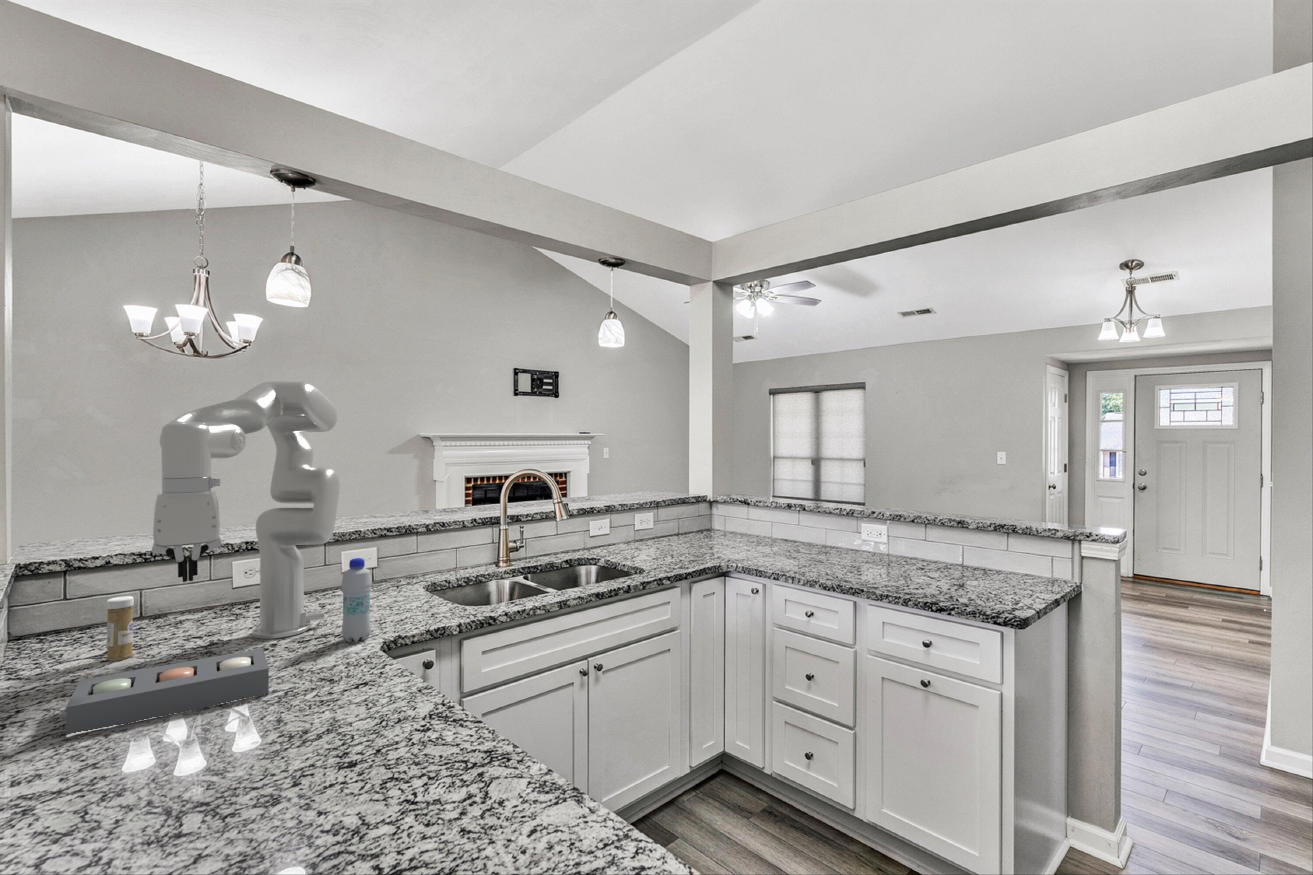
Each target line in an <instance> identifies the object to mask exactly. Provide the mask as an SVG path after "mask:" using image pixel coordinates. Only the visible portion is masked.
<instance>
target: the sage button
mask: <svg viewBox="0 0 1313 875" xmlns="http://www.w3.org/2000/svg"><path fill="white" fill-rule="evenodd" d="M126 688H131V679H127V678H122V679H114V680H109V681H105V682H102V683H99V684H97V685H95V686H94V687H93V695H94V694H99V693H104V692H110V691H115V690H120V689H126Z"/></svg>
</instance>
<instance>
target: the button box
mask: <svg viewBox="0 0 1313 875" xmlns="http://www.w3.org/2000/svg"><path fill="white" fill-rule="evenodd" d="M238 657H249V658H251V665H249V666H244V667H238V668H233V669H228V670H222V671H220V663H221V662H223V661H225V660H228V659H232V658H238ZM267 661H268V660H267V658H266V654H265V651H264V648H257V649H251V650H250V649H249V650H246V651H245V650H244V651H239V652H235V653H234V652H233V653H228V654H223V655H217V656H211V657H205V658H198V659H194V660H192V659H191V660H188V661H182V662H176V663H170V664H165V665H164V664H163V665H160V666H159V665H158V666H154V667H153V666H152V667H148V668H141V669H136V670H135V669H134V670H129V671H124V672H119V673H114V674H113V673H112V674H108V675H102V676H101V675H100V676H97V677H91V678H85V679H84V678H83V679H80V680H79V681H78V683H77V686H76V688H75V690H74V691H73V694H72V695H71V697H70V699H69V701H68V703H67V704H66V706H65V735H66V734H71V733H76V732H81V731H88V730H93V729H98V728H102V727H109V726H113V725H121V724H128V723H131V722H136V721H139V720H144V719H149V718H152V717H159V716H165V715H169V714H174V713H179V714H182V713H181V712H184V713H187V712H186V711H188V712H190V711H189V710H193V711H196V709H198V710H201V709H200V708H202V709H205V708H204V707H207V708H209V707H208V706H212V707H214V706H213V705H216V706H218V705H217V704H221V703H226V702H230V703H232V702H231V701H234V700H239V699H244V698H249V697H253V696H258V697H261V696H260V695H263V696H265V695H264V694H268V695H269V689H270V688H269V685H270V684H269V683H270V682H269V680H270V679H269V677H270V676H269V674H270V673H269V672H270V670H269V664H268V662H267ZM182 667H191V668H193V669H194V676H190V677H185V678H179V679H174V680H169V681H163V682H160V674H161V673H163V672H165V671H168V670H171V669H176V668H182ZM122 678H127V679H131V688H126V689H120V690H115V691H110V692H104V693H99V694H94V695H93V687H94V686H95V685H97V684H99V683H102V682H105V681H109V680H114V679H122ZM249 699H250V698H249ZM244 700H245V699H244ZM226 704H227V703H226ZM221 705H222V704H221ZM174 715H175V714H174ZM165 717H166V716H165ZM128 725H129V724H128Z"/></svg>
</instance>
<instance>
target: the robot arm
mask: <svg viewBox="0 0 1313 875" xmlns="http://www.w3.org/2000/svg"><path fill="white" fill-rule="evenodd" d="M337 420H338V413H337V410H336V407H335V405H334V403H333V402H332V401H331V400H330V399H329V398H328V397H327V396H325V394H323V393H322V391H320V390H319V389H318V388H317V387H316V386H313V384H310V383H307V382H304V381H279V380H278V381H275V380H274V381H271V380H270V381H266V382H265V381H264V382H261V383H259V384H257V385H256V386H253V387H252V388H250V389H248V390H247V391H245V392H243V394H240V395H239V396H237V397H236V398H234V399H230V400H226V401H222V402H219V403H216V404H212V405H208V406H204V407H200V408H196V409H192V410H191V411H187V412H184V413H183V414H181V415H180V416H178V417H176V418H174V419H173V420H171V421H170V422H168V423H167V424H165V425H163V427H162V428H161V432H160V436H159V445H160V448H161V493H159V494H157V495H156V498H155V503H154V512H153V513H154V514H153V527H152V530H153V532H152V533H153V534H152V536H153V545H152V549H151V552H152V553H153V554H161V555H168V556H169V557H170V558H172V559H174V560H175V561H176V562H177V578H182V582H183V583H186V582H193V581H194V577H195V576H196V577H197V576H198V560H199V559H200V558H201V557H202V556H203V555H204V554H205V553H206V552H207V551H209V550H210V551H211V550H214V549H216V548H220V547H221V546H223V545H222V540H221V537H220V534H221V533H220V531H221V526H220V525H221V521H220V509H219V501H218V496H217V492H216V491H214V490H213V491H212V489H213V487H218V486H219V487H220V485H221V479H220V478H219V479H218V478H217V479H216V478H213V477H212V467H211V466H212V462H211V461H212V460H211V459H229V458H233V457H235V456H238V455H239V454H240V453H241V452H242V451H243V450H244V449H245V448H246V443H247V437H246V435H248V434H253V433H256V432H258V431H261V430H262V429H264V428H266V426H267V429H268V431H269V432H270V434H271V436H272V439H273V441H274V445H275V450H276V453H275V460H274V466H273V472H272V476H271V483H270V493H269V494H270V497H271V499H272V500H273V501H275V502H276V503H280V504H288V505H289V504H294V505H295V504H298V505H299V504H300V505H301V504H313V507H275V508H274V507H273V508H270V509H267V510H265V511H263V512H262V513H261V514H260V515H259V516H258V517H257V519H256V521H255V532H256V533H255V534H256V539H257V543H258V548H259V549H258V550H259V564H260V567H259V568H260V569H259V576H260V577H259V626H257V627H255V628H254V629H253V630H252V634H251V636H252V637H254V638H255V639H260V640H261V639H263V640H265V639H266V640H269V639H272V640H273V639H279V638H287V637H292V636H297V635H300V634H302V633H304V632H306V631H308V630H309V629H310V628H311V621H315V620H316V621H318V620H324V619H325V612H324V611H322V610H321V611H317V610H315V611H309V612H308V611H306V609H305V608H304V606H305V605H304V602H305V600H304V598H305V597H304V594H305V593H304V591H305V590H304V589H305V586H304V585H305V582H304V581H305V580H304V578H305V576H304V574H305V570H304V569H305V562H304V557H303V554H301V551H300V550H299V549H298V548H297V546H308V545H309V546H310V545H314V546H315V545H323V544H326V543H328V542H329V541H330V539H331V538H332V536H333V534H334V529H335V524H336V518H337V517H336V516H337V510H338V504H339V498H340V489H341V488H340V485H341V484H340V480H339V479H340V478H339V476H338V474H337V472H336V471H335V470H334V469H332V468H329V467H325V466H324V467H323V466H322V467H316V466H315V467H313V460H314V459H313V458H314V449H313V447H312V445H311V444H310V442H309V441H308V439H306V437H305V436H304V435H303V434H302V433H325V432H329V431H331V430H333V429H334V427H336V424H337ZM183 546H192V550H191V554H190V555H189V559H187V557H186V555H185V554H184V553H185V552H184V550H183Z"/></svg>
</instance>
